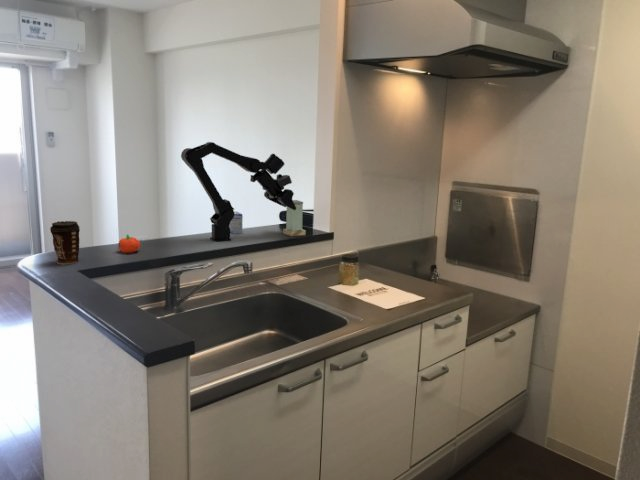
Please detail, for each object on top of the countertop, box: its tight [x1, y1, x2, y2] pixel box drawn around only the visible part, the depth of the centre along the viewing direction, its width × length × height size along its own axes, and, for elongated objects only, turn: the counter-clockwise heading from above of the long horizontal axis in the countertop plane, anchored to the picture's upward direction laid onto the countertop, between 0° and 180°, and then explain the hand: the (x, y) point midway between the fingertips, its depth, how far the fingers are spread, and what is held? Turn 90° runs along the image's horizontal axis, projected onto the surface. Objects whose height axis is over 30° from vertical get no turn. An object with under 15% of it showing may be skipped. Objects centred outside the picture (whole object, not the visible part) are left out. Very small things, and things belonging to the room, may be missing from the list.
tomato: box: [117, 234, 141, 254], centre depth 185 cm, size 7×8×6 cm
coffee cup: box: [49, 220, 81, 266], centre depth 168 cm, size 9×8×13 cm
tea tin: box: [285, 199, 304, 231], centre depth 224 cm, size 5×5×12 cm
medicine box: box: [229, 210, 244, 235], centre depth 226 cm, size 8×4×9 cm, turn 25°
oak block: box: [282, 228, 306, 237], centre depth 226 cm, size 7×7×2 cm
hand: (290, 207), depth 223 cm, fingers open, 9 cm apart
